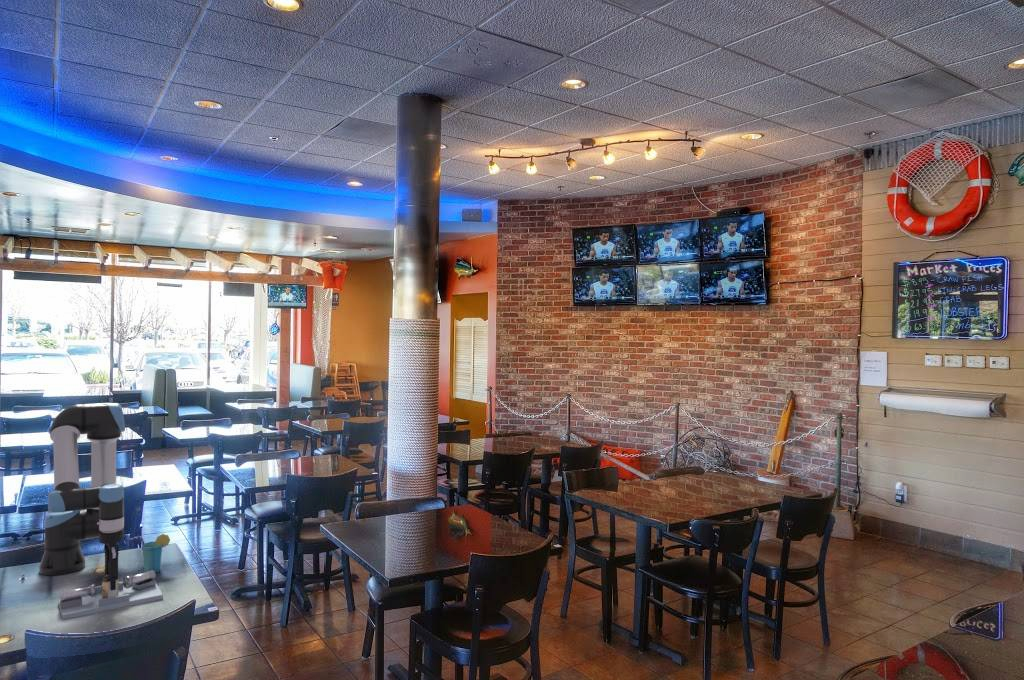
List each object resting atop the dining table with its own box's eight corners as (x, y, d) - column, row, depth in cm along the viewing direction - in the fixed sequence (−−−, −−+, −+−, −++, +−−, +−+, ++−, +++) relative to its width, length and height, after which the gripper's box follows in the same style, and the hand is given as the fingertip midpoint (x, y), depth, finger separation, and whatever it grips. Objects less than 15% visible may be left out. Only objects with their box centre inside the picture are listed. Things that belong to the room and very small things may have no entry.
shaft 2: (122, 590, 249) (122, 575, 249) (149, 582, 257) (149, 567, 257) (129, 594, 246) (129, 578, 246) (157, 585, 255) (157, 570, 255)
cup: (131, 578, 264) (131, 539, 264) (127, 572, 270) (127, 534, 270) (171, 571, 273) (171, 533, 272) (166, 565, 279) (167, 528, 278)
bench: (58, 603, 241) (58, 593, 240) (154, 585, 259) (154, 575, 258) (62, 619, 229) (62, 608, 228) (162, 598, 247) (162, 588, 246)
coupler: (101, 596, 244) (101, 575, 244) (117, 593, 247) (117, 572, 246) (102, 601, 240) (102, 580, 239) (119, 598, 243) (119, 577, 242)
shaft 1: (59, 600, 236) (59, 588, 236) (94, 594, 242) (94, 582, 242) (60, 605, 233) (60, 592, 233) (95, 598, 239) (95, 586, 239)
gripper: (95, 525, 248) (95, 590, 248) (102, 538, 233) (102, 607, 234) (119, 521, 252) (119, 585, 253) (127, 534, 238) (127, 602, 238)
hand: (111, 595), depth 243 cm, fingers closed on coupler, 5 cm apart
